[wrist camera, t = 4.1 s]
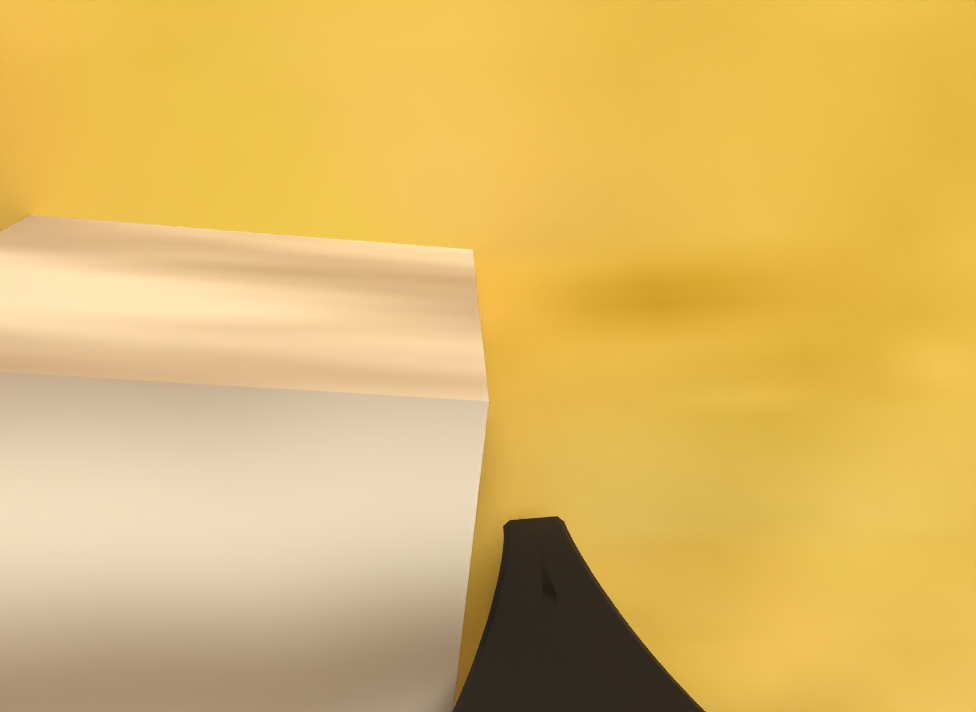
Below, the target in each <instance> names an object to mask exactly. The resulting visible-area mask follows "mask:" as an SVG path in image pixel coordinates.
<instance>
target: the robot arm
mask: <svg viewBox="0 0 976 712" xmlns="http://www.w3.org/2000/svg"><path fill="white" fill-rule="evenodd" d="M503 529H504V544H503V554H502V561H501V567H500V572H499V577H498V582H497V586H496V590H495V594H494V598H493V602H492V605H491V609H490V613H489V617H488V620H487V623H486V626H485V629H484V632H483V635H482V638H481V641H480V644H479V647H478V650H477V653H476V656H475V659H474V662H473V664H472V667H471V670H470V672H469V675H468V677H467V680H466V682H465V685H464V687H463V690H462V692H461V694H460V697H459V699H458V701H457V703H456V706H455V708H454V710H453V712H705V711H704V710H703V709H702V708H701V707H700V706H699V705H698V704H697V703H696V702H695V701H694V700H693V699H692V698H691V697H690V696H689V695H688V693H687V692H686V691H685V690H684V689H683V688H682V687H681V686H680V685H679V684H678V683H677V682H676V681H675V680H674V679H673V677H672V676H671V675H670V674H669V673H668V672H667V671H666V670H665V668H664V667H663V666H662V665H661V664H660V663H659V662H658V660H657V659H656V658H655V657H654V656H653V654H652V653H651V652H650V651H649V650H648V648H647V647H646V646H645V645H644V643H643V642H642V641H641V640H640V638H639V637H638V636H637V635H636V634H635V632H634V631H633V630H632V628H631V627H630V626H629V625H628V623H627V622H626V621H625V619H624V618H623V617H622V615H621V614H620V613H619V611H618V610H617V608H616V607H615V606H614V604H613V603H612V601H611V600H610V598H609V597H608V596H607V594H606V593H605V591H604V590H603V589H602V587H601V586H600V584H599V583H598V581H597V580H596V578H595V577H594V575H593V573H592V572H591V570H590V569H589V567H588V565H587V564H586V562H585V561H584V559H583V557H582V556H581V554H580V552H579V550H578V549H577V547H576V545H575V543H574V541H573V540H572V538H571V536H570V534H569V532H568V530H567V527H566V525H565V523H564V521H563V520H561V519H560V518H559V517H558V516H556V517H544V518H531V519H519V520H510V521H508V522H507V523H506V524H505V525H504V526H503Z"/></svg>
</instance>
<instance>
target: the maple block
mask: <svg viewBox="0 0 976 712" xmlns="http://www.w3.org/2000/svg"><path fill="white" fill-rule="evenodd" d="M488 406H489V396H488V387H487V378H486V368H485V359H484V349H483V340H482V331H481V321H480V312H479V303H478V293H477V284H476V274H475V265H474V256H473V250H470V249H458V248H445V247H432V246H420V245H407V244H395V243H382V242H369V241H357V240H344V239H331V238H319V237H306V236H293V235H281V234H268V233H255V232H243V231H230V230H217V229H205V228H192V227H179V226H167V225H154V224H141V223H129V222H116V221H103V220H91V219H78V218H65V217H53V216H40V215H30V216H28V217H26V218H24V219H22V220H21V221H19V222H17V223H15V224H13V225H11V226H10V227H8V228H6V229H4V230H2V231H1V232H0V712H453V708H454V699H455V690H456V682H457V673H458V665H459V656H460V647H461V639H462V630H463V621H464V613H465V604H466V595H467V587H468V578H469V570H470V561H471V552H472V544H473V535H474V526H475V518H476V509H477V501H478V492H479V483H480V475H481V466H482V457H483V449H484V440H485V431H486V423H487V414H488Z"/></svg>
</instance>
